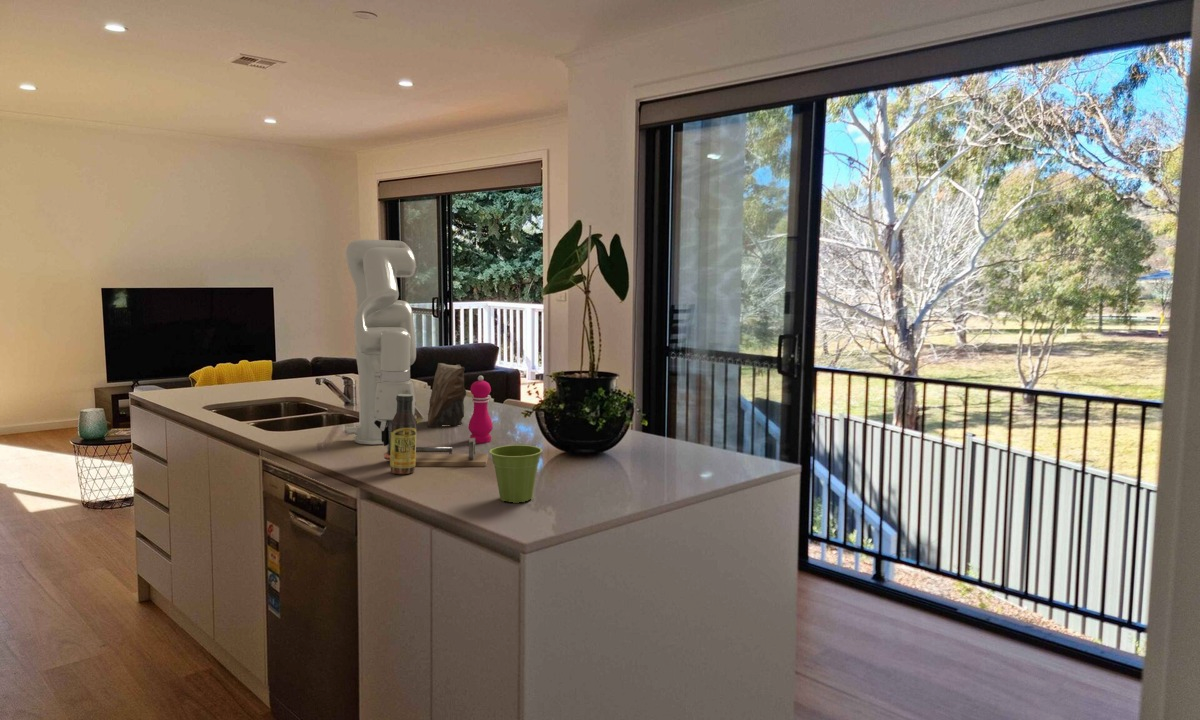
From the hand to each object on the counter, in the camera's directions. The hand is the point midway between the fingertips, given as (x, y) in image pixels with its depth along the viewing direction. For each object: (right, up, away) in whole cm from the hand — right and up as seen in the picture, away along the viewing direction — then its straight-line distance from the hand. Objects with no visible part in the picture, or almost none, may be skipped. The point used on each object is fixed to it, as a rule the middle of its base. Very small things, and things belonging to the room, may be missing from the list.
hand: (396, 444), depth 208 cm
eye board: (+13, -5, +1) cm, 14 cm away
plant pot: (+35, -9, -32) cm, 48 cm away
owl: (+1, +1, +54) cm, 54 cm away
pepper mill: (+18, -2, +29) cm, 34 cm away
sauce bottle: (+4, -6, -10) cm, 13 cm away
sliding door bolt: (+6, -4, +1) cm, 7 cm away
